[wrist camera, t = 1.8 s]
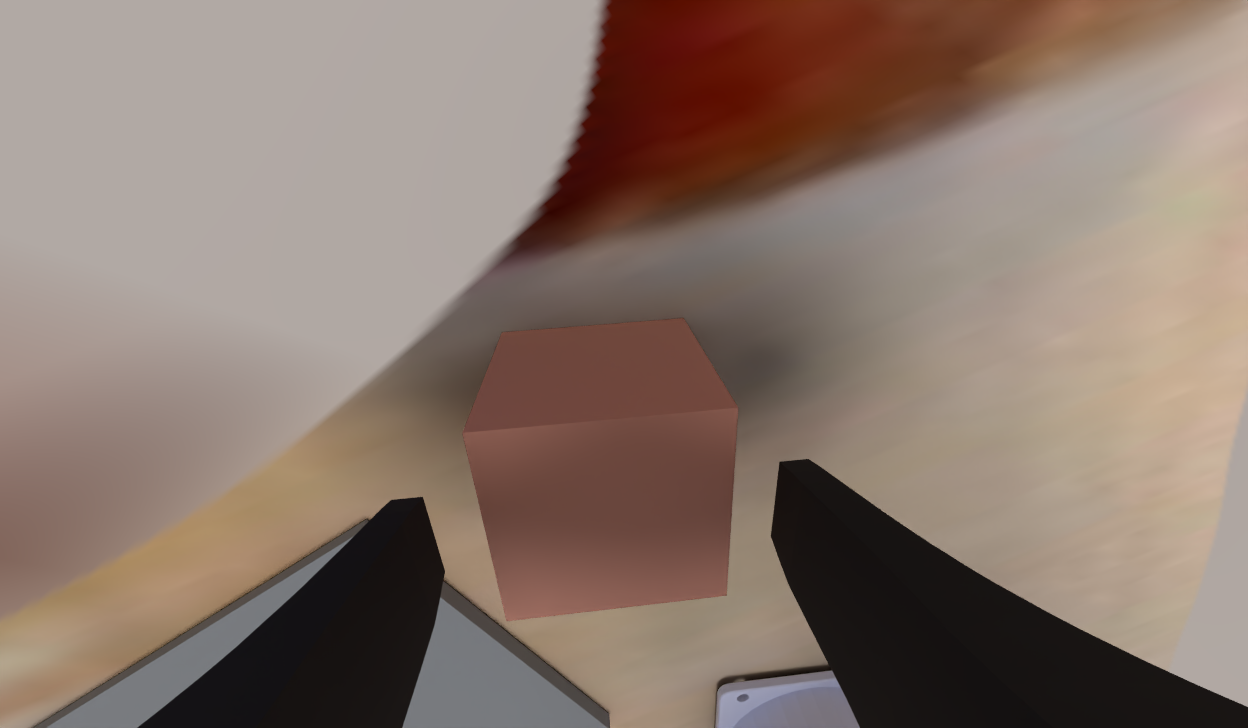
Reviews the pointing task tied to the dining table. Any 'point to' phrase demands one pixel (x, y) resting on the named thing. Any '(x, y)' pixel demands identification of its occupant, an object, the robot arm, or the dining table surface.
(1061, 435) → the dining table surface
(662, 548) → the brick cube
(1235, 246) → the dining table surface
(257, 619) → the slate mat
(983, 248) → the dining table surface
